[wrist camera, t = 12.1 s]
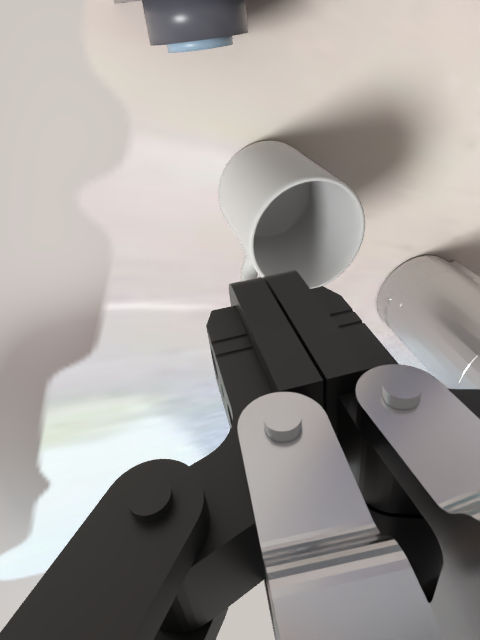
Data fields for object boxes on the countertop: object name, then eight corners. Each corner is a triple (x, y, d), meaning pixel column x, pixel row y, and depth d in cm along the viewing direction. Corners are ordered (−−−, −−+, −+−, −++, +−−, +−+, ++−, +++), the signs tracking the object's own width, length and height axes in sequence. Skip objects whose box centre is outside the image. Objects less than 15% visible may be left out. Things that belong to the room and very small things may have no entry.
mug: (236, 125, 35) (276, 157, 27) (325, 157, 39) (388, 196, 30) (193, 258, 41) (215, 322, 32) (275, 276, 44) (315, 340, 35)
